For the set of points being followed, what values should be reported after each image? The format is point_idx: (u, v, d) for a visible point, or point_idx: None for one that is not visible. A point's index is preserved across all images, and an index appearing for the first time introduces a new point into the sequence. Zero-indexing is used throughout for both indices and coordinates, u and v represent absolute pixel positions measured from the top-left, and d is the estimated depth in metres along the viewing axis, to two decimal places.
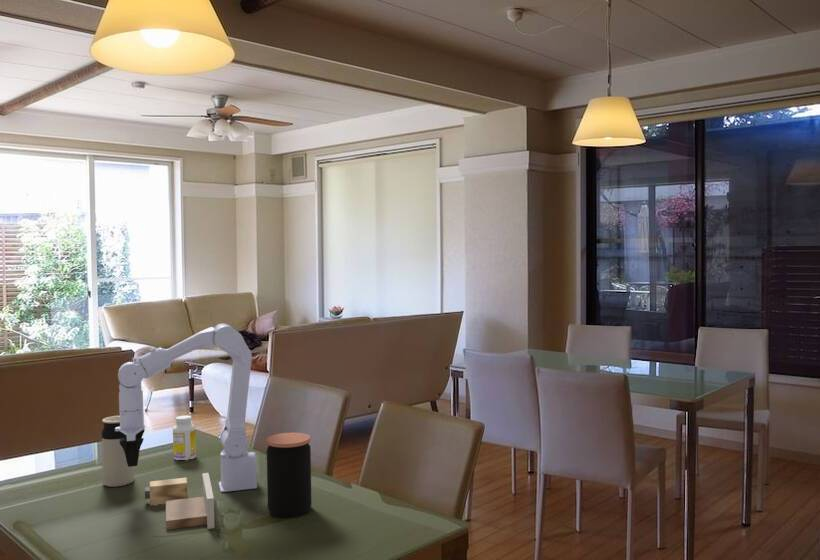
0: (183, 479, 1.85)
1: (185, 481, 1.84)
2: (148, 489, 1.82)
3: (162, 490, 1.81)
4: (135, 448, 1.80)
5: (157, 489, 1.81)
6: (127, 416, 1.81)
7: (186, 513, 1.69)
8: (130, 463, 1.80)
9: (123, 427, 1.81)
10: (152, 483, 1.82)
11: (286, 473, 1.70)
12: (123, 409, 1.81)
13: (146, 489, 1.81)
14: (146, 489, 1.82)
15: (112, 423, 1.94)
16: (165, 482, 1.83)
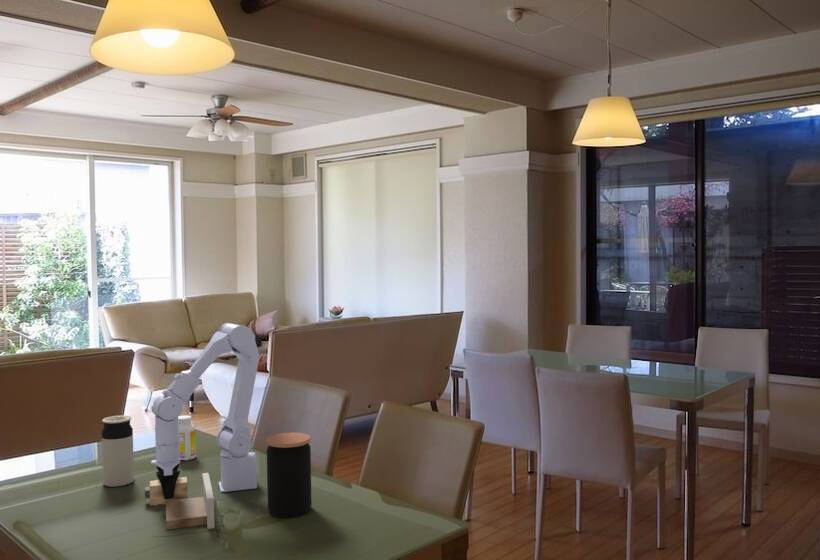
0: (183, 479, 1.85)
1: (185, 480, 1.84)
2: (148, 488, 1.82)
3: None
4: (171, 481, 1.81)
5: (157, 488, 1.81)
6: (163, 449, 1.80)
7: (186, 513, 1.69)
8: (166, 495, 1.81)
9: (159, 461, 1.81)
10: (152, 483, 1.82)
11: (286, 473, 1.70)
12: (162, 443, 1.80)
13: (146, 489, 1.81)
14: (146, 488, 1.82)
15: (112, 423, 1.94)
16: None
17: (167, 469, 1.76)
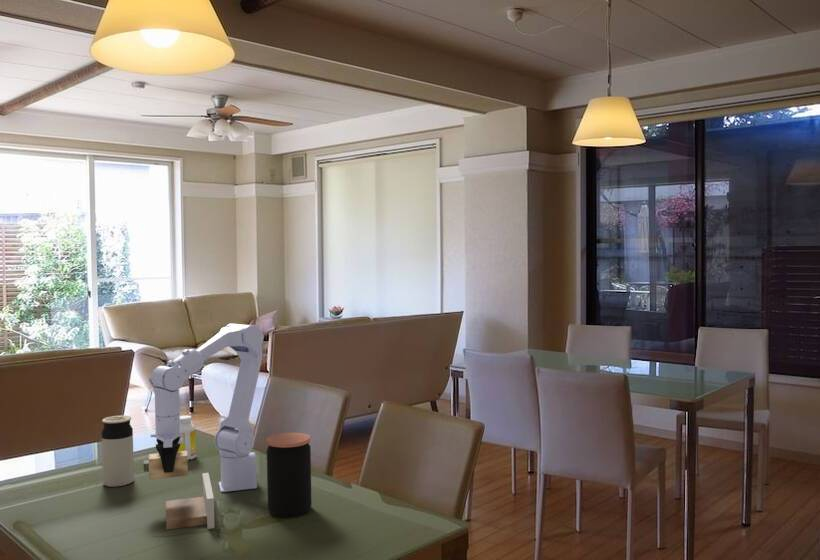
0: (183, 452, 1.79)
1: (185, 454, 1.78)
2: (147, 462, 1.75)
3: (161, 463, 1.75)
4: (171, 454, 1.75)
5: (157, 461, 1.74)
6: (163, 421, 1.74)
7: (186, 513, 1.69)
8: (166, 469, 1.74)
9: (159, 433, 1.74)
10: (151, 456, 1.76)
11: (286, 473, 1.70)
12: (165, 414, 1.74)
13: (145, 462, 1.75)
14: (145, 462, 1.75)
15: (112, 423, 1.94)
16: None
17: (167, 441, 1.70)
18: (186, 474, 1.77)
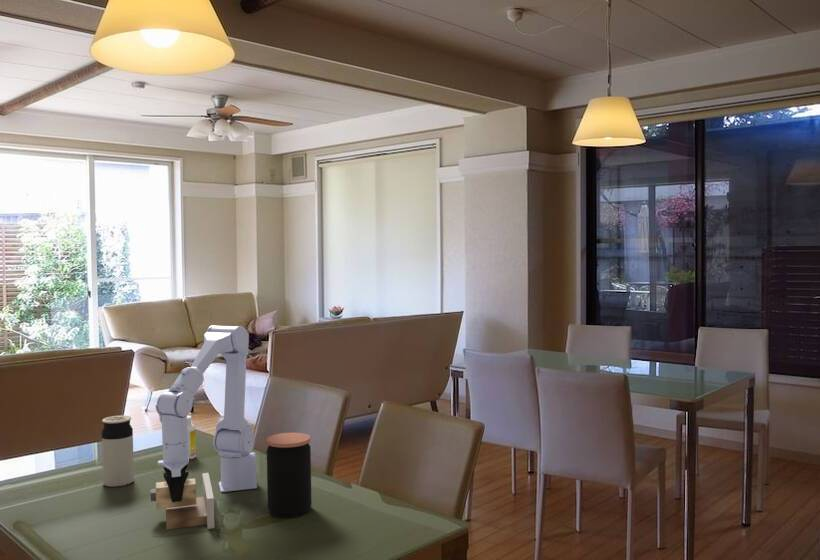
0: (191, 480, 1.73)
1: (194, 482, 1.72)
2: (154, 491, 1.70)
3: (169, 492, 1.69)
4: (179, 482, 1.69)
5: (164, 490, 1.69)
6: (171, 449, 1.69)
7: (186, 513, 1.69)
8: (174, 498, 1.69)
9: (167, 461, 1.69)
10: (158, 485, 1.71)
11: (286, 473, 1.70)
12: (177, 442, 1.69)
13: (152, 491, 1.69)
14: (152, 491, 1.70)
15: (112, 423, 1.94)
16: None
17: (175, 470, 1.65)
18: (194, 503, 1.71)
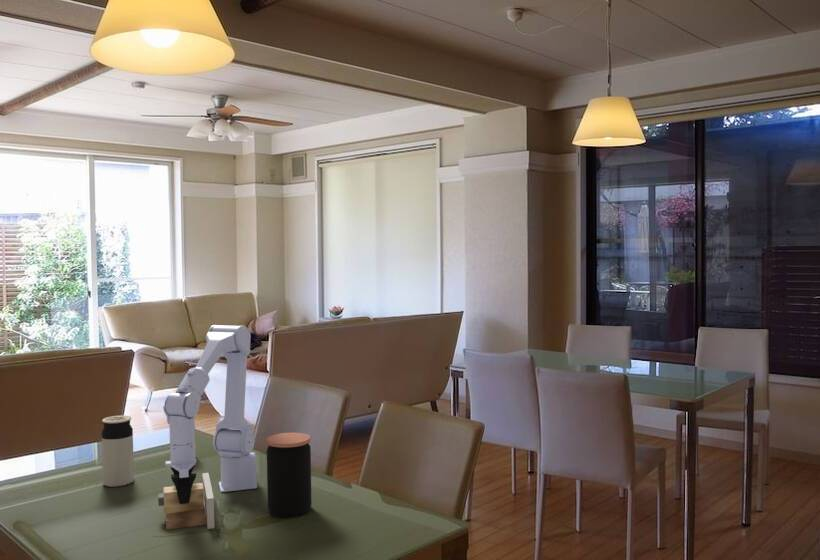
0: (199, 485, 1.74)
1: (201, 487, 1.73)
2: (162, 495, 1.70)
3: (176, 497, 1.70)
4: (187, 484, 1.69)
5: (172, 495, 1.69)
6: (178, 450, 1.69)
7: (186, 513, 1.69)
8: (182, 500, 1.69)
9: (174, 462, 1.69)
10: (165, 489, 1.71)
11: (286, 473, 1.70)
12: (185, 442, 1.69)
13: (160, 496, 1.70)
14: (160, 495, 1.70)
15: (112, 423, 1.94)
16: None
17: (183, 471, 1.65)
18: (202, 507, 1.72)
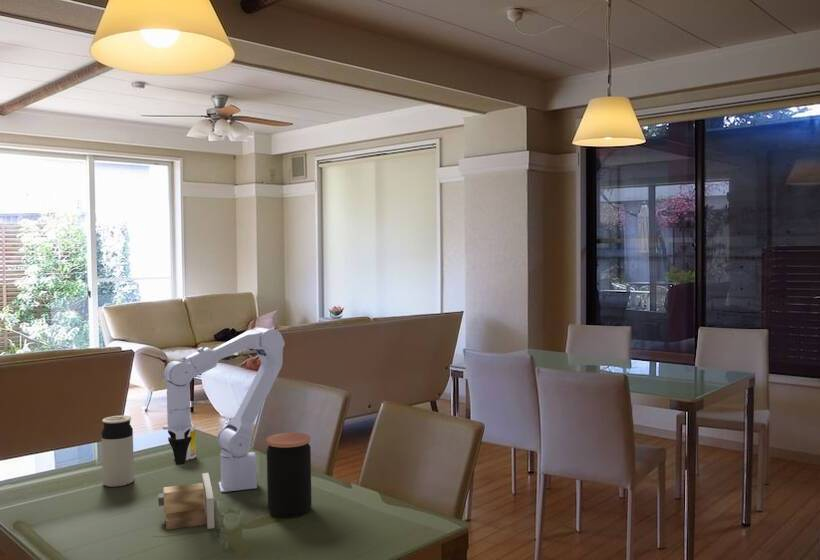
0: (199, 485, 1.74)
1: (201, 487, 1.73)
2: (162, 495, 1.70)
3: (176, 497, 1.70)
4: (183, 446, 1.81)
5: (172, 495, 1.69)
6: (175, 414, 1.82)
7: (186, 513, 1.69)
8: (178, 461, 1.81)
9: (171, 425, 1.82)
10: (165, 489, 1.71)
11: (286, 473, 1.70)
12: (173, 408, 1.82)
13: (160, 496, 1.70)
14: (160, 495, 1.70)
15: (112, 423, 1.94)
16: (180, 488, 1.72)
17: (179, 433, 1.78)
18: (202, 507, 1.72)
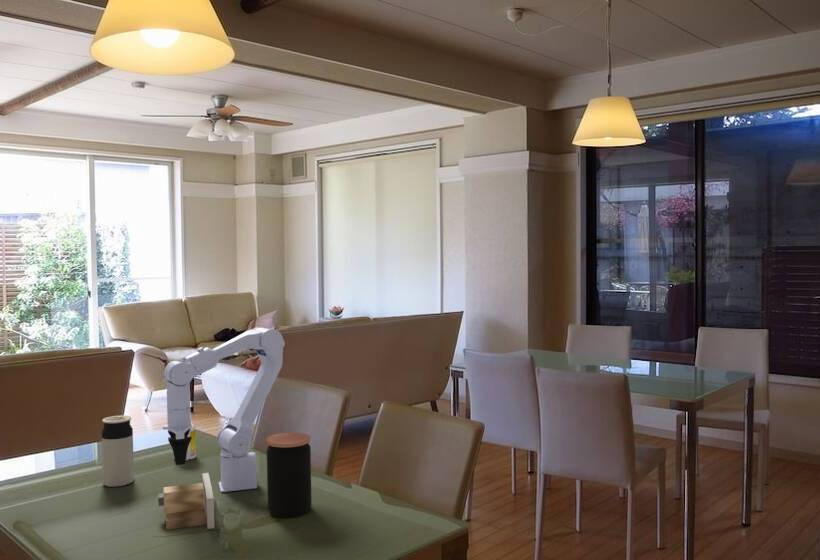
0: (199, 485, 1.74)
1: (201, 487, 1.73)
2: (162, 495, 1.70)
3: (176, 497, 1.70)
4: (183, 446, 1.81)
5: (172, 495, 1.69)
6: (175, 414, 1.82)
7: (186, 513, 1.69)
8: (178, 461, 1.81)
9: (171, 425, 1.82)
10: (165, 489, 1.71)
11: (286, 473, 1.70)
12: (173, 408, 1.82)
13: (160, 496, 1.70)
14: (160, 495, 1.70)
15: (112, 423, 1.94)
16: (180, 488, 1.72)
17: (179, 433, 1.78)
18: (202, 507, 1.72)
